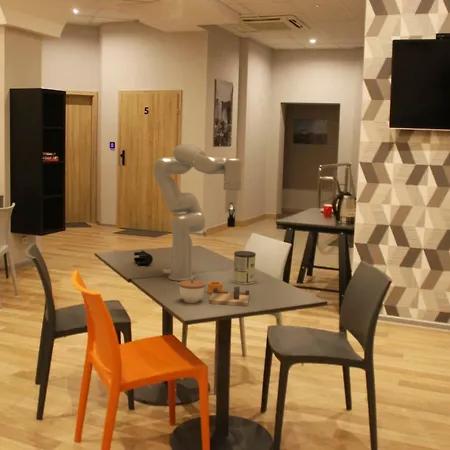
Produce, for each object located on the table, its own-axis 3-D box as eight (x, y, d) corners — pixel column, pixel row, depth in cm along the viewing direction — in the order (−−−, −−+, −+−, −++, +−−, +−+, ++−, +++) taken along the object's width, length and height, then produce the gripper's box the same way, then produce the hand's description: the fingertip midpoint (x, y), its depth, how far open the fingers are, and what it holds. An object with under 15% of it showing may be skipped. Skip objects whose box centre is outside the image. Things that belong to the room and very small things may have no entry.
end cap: (152, 266, 332) (153, 253, 331) (139, 267, 329) (140, 254, 328) (146, 262, 341) (146, 249, 340) (133, 263, 338) (133, 250, 337)
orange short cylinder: (206, 293, 282) (207, 284, 282) (208, 289, 289) (209, 281, 288) (221, 294, 282) (221, 285, 281) (222, 290, 288) (223, 282, 287)
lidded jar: (209, 301, 270) (210, 279, 268) (191, 306, 262) (192, 283, 260) (191, 296, 277) (192, 275, 275) (173, 300, 269) (174, 278, 267)
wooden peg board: (208, 303, 266) (209, 288, 265) (213, 294, 280) (213, 280, 279) (247, 306, 265) (247, 290, 264) (249, 297, 279) (250, 282, 278)
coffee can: (236, 278, 313) (237, 250, 311) (256, 280, 310) (257, 252, 308) (230, 282, 303) (231, 253, 301) (251, 285, 300) (253, 255, 298)
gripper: (224, 184, 287) (223, 222, 290) (223, 188, 270) (222, 227, 273) (240, 185, 287) (239, 222, 290) (240, 188, 270) (239, 228, 273)
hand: (231, 225), depth 281 cm, fingers open, 9 cm apart
